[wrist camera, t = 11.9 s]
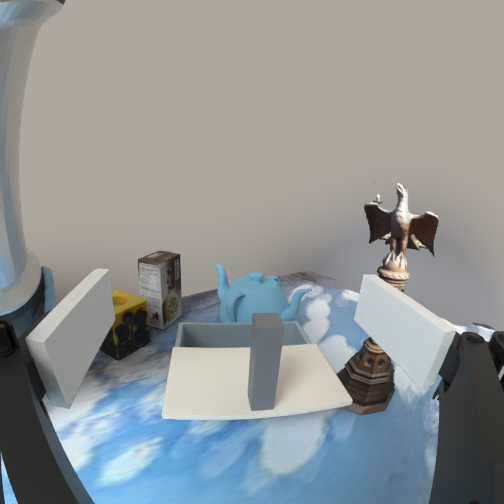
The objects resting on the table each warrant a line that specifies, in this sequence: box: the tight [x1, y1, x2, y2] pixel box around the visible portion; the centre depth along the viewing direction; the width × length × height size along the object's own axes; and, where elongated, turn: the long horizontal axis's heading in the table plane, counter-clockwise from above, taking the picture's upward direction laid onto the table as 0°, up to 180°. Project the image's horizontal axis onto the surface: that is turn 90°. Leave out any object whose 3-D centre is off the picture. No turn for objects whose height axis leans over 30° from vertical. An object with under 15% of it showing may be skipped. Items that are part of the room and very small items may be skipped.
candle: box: [99, 289, 150, 360], centre depth 51 cm, size 10×10×10 cm
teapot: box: [214, 263, 312, 323], centre depth 61 cm, size 16×20×14 cm
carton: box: [175, 321, 312, 348], centre depth 44 cm, size 22×14×8 cm, turn 98°
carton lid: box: [162, 313, 353, 420], centre depth 32 cm, size 22×14×12 cm, turn 98°
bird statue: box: [337, 183, 439, 415], centre depth 39 cm, size 17×13×35 cm
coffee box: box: [138, 251, 182, 330], centre depth 63 cm, size 9×6×16 cm
